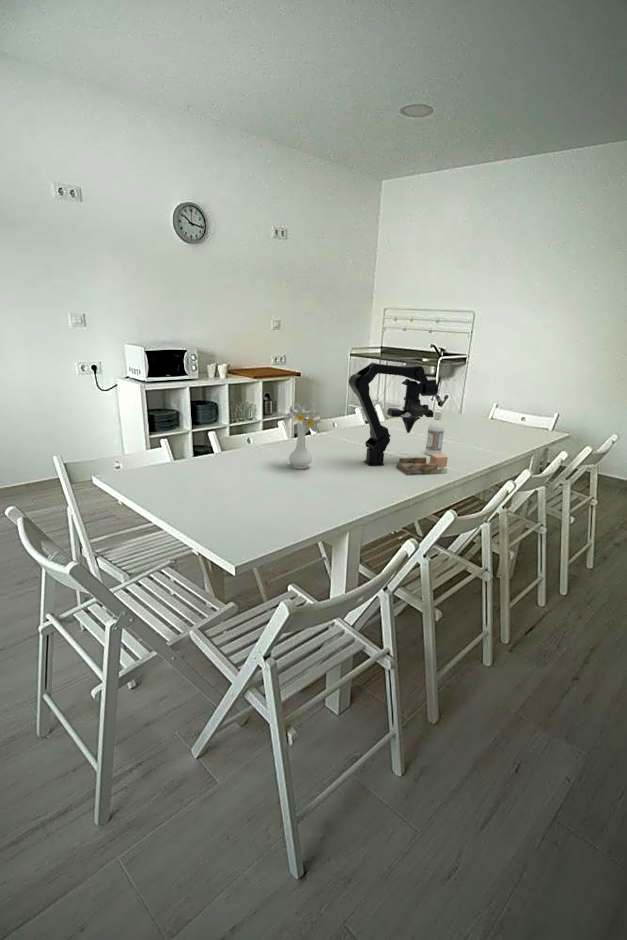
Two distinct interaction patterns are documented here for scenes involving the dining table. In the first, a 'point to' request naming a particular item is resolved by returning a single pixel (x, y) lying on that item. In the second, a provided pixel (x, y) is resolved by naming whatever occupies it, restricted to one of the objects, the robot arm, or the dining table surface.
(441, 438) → the bath foam
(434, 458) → the block
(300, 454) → the flower vase
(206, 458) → the dining table surface
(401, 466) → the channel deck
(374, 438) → the robot arm
